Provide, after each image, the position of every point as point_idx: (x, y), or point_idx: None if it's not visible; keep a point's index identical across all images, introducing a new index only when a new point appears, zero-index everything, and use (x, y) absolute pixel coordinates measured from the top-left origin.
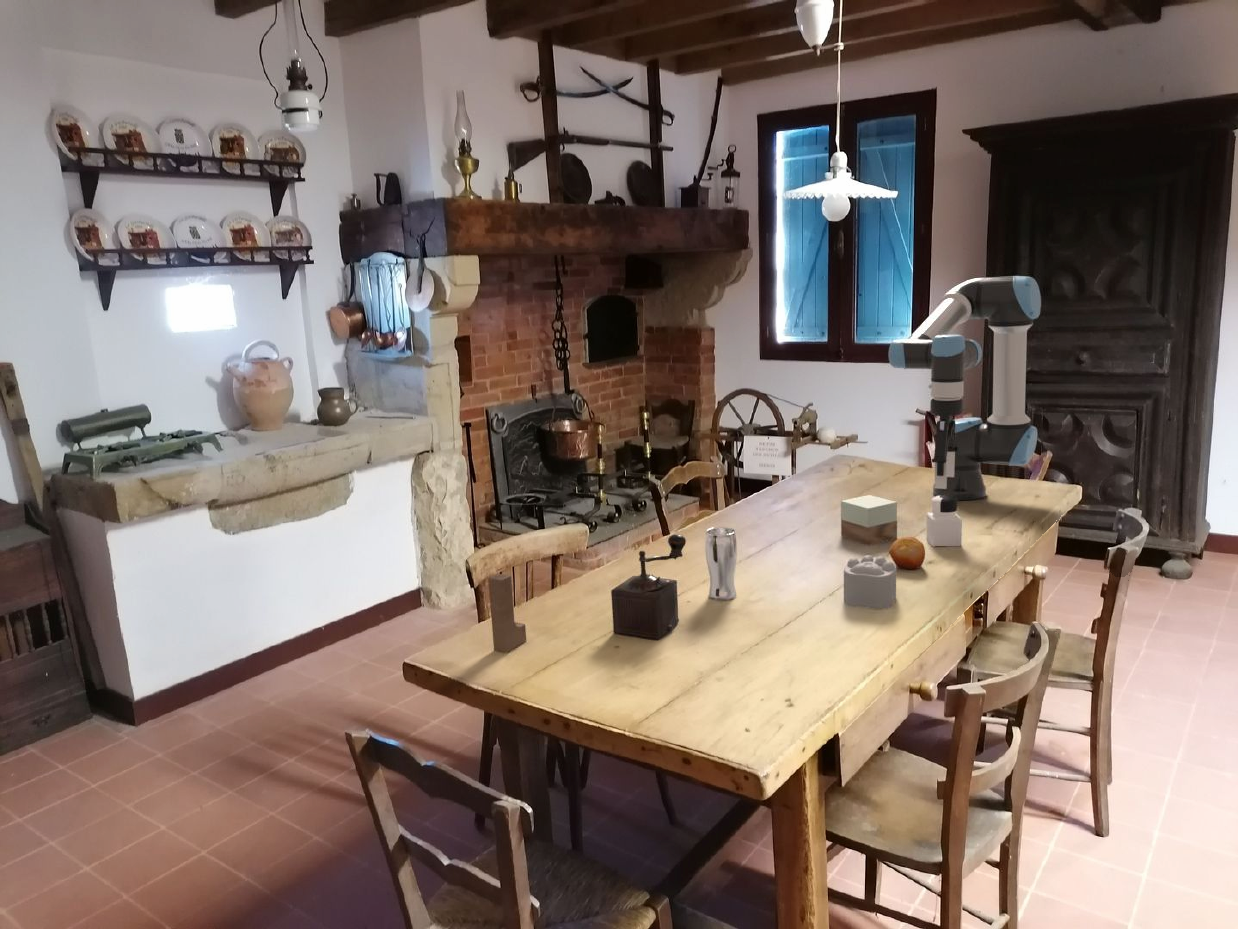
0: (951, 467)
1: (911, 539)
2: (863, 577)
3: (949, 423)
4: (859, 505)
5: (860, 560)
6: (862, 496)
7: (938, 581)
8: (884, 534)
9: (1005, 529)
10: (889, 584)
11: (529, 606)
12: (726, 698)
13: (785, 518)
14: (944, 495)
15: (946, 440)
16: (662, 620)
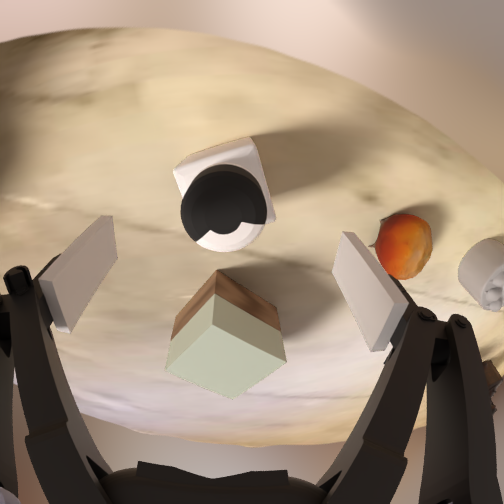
0: (95, 246)
1: (423, 254)
2: None
3: None
4: (262, 376)
5: (487, 301)
6: (183, 378)
7: (450, 187)
8: (244, 296)
9: (90, 64)
10: None
11: (424, 425)
12: None
13: (164, 401)
14: (194, 219)
15: (482, 414)
16: (492, 368)
